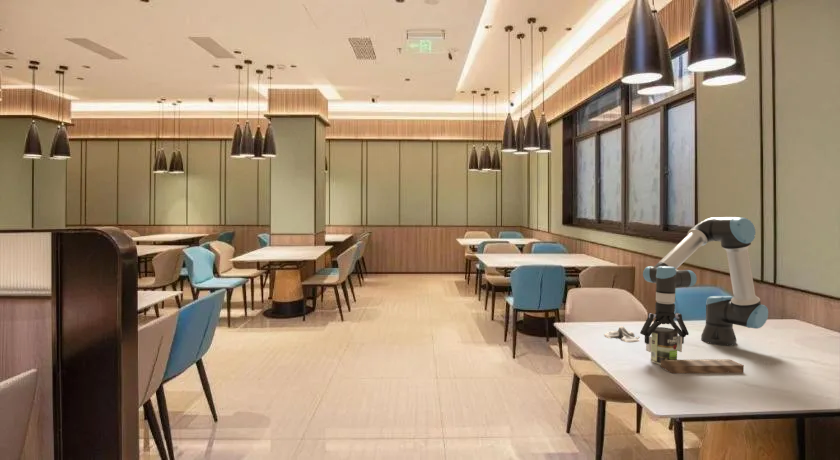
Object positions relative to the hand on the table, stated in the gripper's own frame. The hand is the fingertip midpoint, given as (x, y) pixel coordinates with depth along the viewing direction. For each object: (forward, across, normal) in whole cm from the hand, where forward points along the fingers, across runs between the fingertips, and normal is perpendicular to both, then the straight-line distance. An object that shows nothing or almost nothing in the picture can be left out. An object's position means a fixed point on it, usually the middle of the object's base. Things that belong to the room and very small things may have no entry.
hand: (663, 351), depth 208 cm
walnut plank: (+5, -10, +10) cm, 15 cm away
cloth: (+6, -3, -43) cm, 43 cm away
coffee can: (+5, 0, 0) cm, 5 cm away
